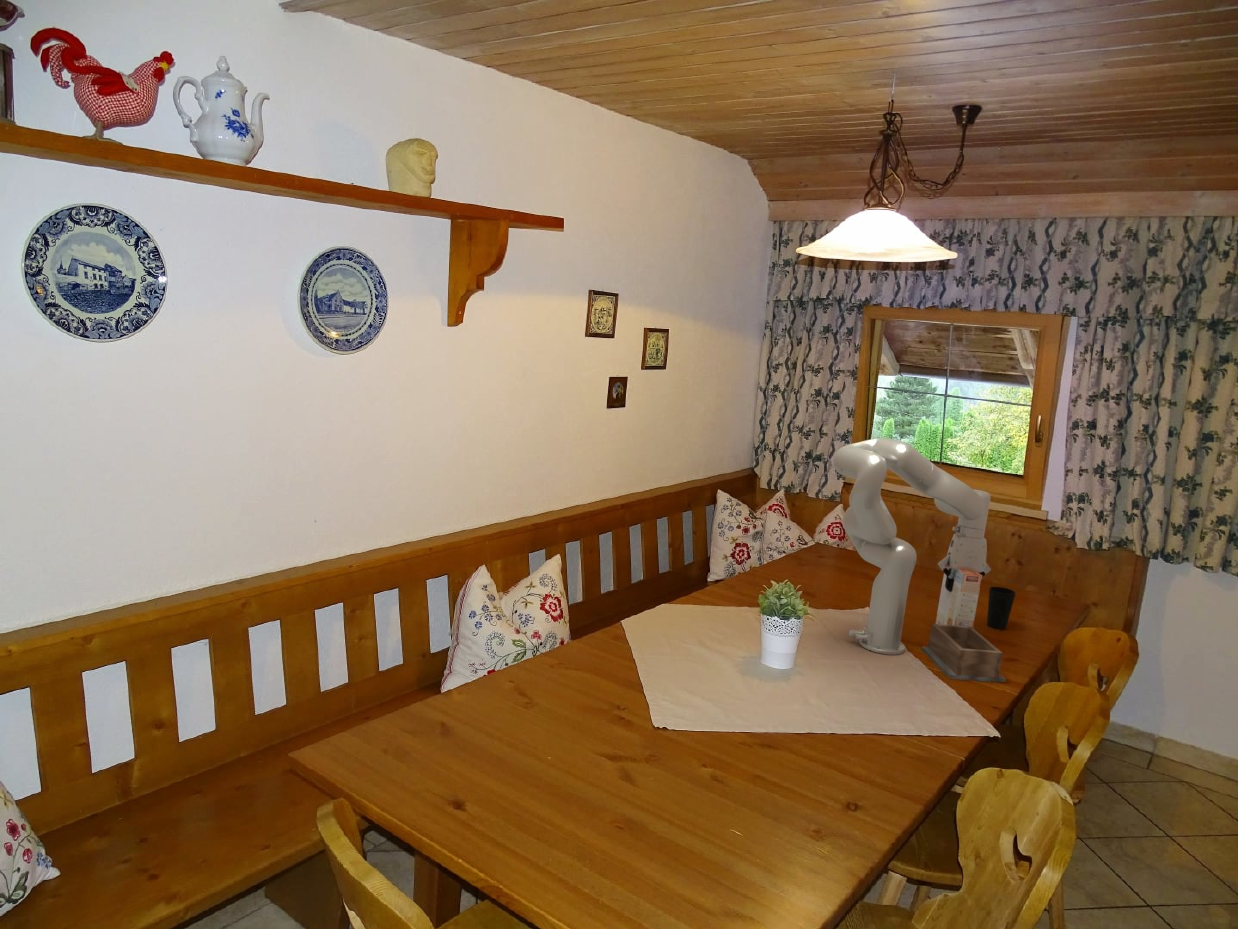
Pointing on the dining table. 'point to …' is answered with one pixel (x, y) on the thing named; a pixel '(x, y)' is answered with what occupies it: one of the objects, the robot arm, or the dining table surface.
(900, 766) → the dining table surface
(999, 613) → the cup
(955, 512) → the robot arm
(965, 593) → the cracker box
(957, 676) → the box stand
